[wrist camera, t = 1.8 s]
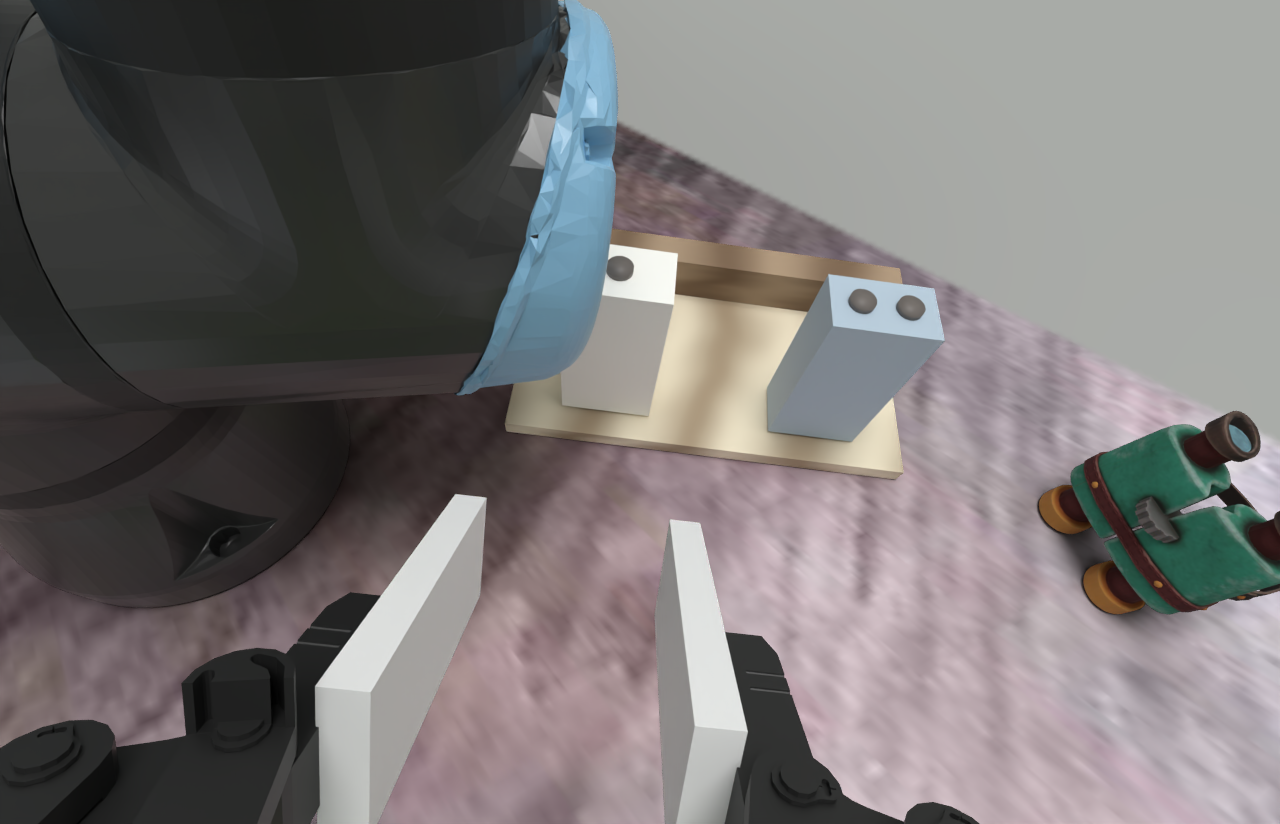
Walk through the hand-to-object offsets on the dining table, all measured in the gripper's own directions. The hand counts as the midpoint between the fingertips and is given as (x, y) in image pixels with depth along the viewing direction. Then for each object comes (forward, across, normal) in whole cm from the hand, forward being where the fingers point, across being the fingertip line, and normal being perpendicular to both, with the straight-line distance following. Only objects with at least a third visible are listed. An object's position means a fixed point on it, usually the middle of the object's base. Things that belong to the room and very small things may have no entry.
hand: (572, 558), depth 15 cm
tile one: (+21, 0, 0) cm, 21 cm away
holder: (+24, +6, +1) cm, 25 cm away
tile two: (+21, +12, 0) cm, 24 cm away
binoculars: (+18, +31, -5) cm, 36 cm away
